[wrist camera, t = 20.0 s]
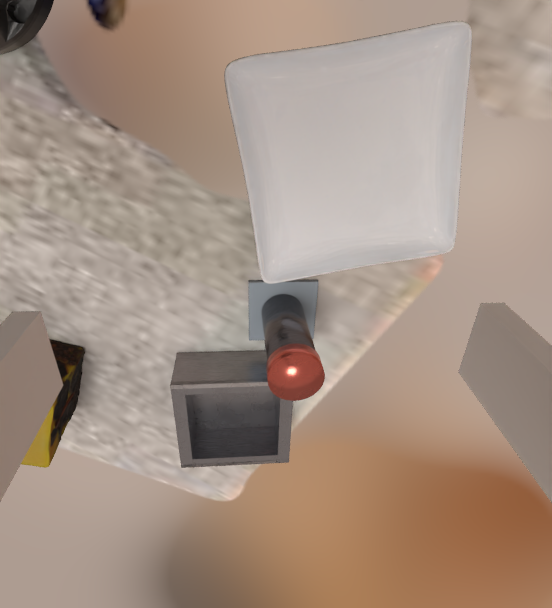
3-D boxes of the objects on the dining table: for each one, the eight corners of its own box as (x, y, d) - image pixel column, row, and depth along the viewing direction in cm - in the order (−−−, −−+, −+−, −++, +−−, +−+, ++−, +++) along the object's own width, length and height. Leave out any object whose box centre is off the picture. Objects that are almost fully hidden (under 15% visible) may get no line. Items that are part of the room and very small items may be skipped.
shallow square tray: (186, 432, 58) (181, 467, 53) (177, 352, 51) (170, 385, 46) (284, 427, 60) (288, 462, 54) (288, 349, 52) (293, 381, 47)
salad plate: (457, 19, 36) (477, 15, 33) (443, 242, 47) (457, 254, 44) (221, 60, 36) (219, 60, 33) (261, 273, 47) (262, 287, 44)
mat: (249, 337, 51) (249, 340, 51) (248, 280, 47) (248, 282, 47) (312, 336, 52) (313, 338, 51) (317, 279, 48) (318, 281, 47)
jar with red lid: (259, 331, 50) (266, 401, 40) (260, 292, 47) (268, 357, 37) (302, 330, 51) (321, 399, 40) (306, 292, 48) (327, 355, 38)
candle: (-5, 326, 48) (-59, 385, 39) (86, 345, 50) (55, 404, 41) (-6, 391, 52) (-53, 456, 44) (78, 405, 54) (49, 469, 46)
